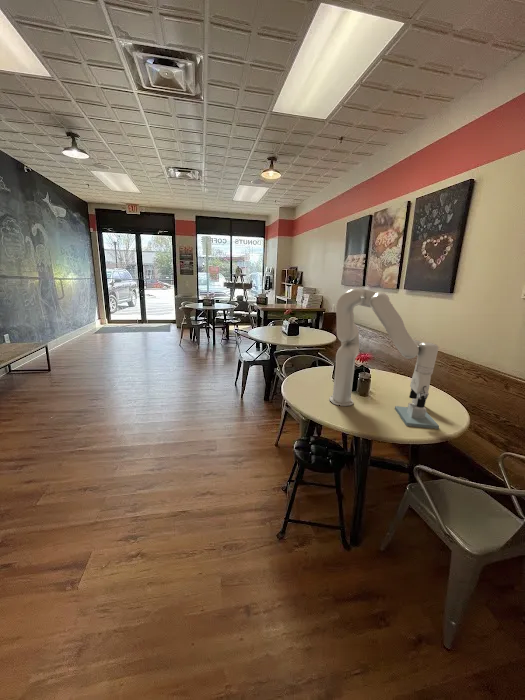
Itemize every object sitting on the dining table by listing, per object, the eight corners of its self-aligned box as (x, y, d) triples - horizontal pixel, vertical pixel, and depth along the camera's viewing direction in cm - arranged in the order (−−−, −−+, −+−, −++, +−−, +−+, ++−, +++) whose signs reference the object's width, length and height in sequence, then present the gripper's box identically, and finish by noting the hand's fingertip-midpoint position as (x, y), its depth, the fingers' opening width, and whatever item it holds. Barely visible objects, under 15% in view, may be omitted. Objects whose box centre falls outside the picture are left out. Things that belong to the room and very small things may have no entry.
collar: (407, 412, 145) (408, 402, 144) (419, 413, 144) (421, 403, 143) (411, 417, 139) (413, 408, 138) (424, 418, 138) (426, 409, 137)
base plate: (394, 408, 152) (396, 399, 150) (423, 411, 150) (425, 401, 148) (406, 425, 134) (408, 414, 133) (438, 429, 133) (440, 418, 131)
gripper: (409, 362, 145) (402, 394, 149) (422, 374, 128) (414, 409, 133) (425, 364, 144) (417, 396, 148) (440, 376, 127) (432, 411, 132)
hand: (416, 402), depth 140 cm, fingers open, 9 cm apart
